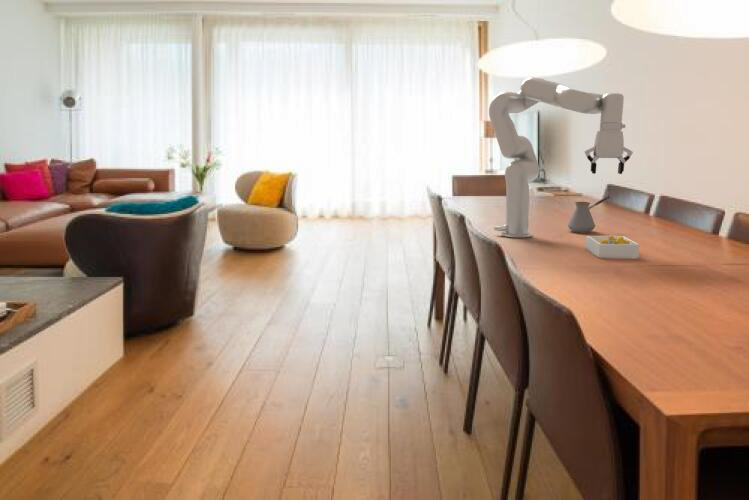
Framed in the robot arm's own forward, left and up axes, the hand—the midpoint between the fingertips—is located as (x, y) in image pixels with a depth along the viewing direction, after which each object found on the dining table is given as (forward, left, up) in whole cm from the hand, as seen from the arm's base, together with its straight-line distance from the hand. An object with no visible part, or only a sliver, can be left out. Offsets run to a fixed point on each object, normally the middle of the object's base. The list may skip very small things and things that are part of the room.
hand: (606, 173), depth 232 cm
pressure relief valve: (-2, -23, -24) cm, 33 cm away
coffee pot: (+4, +35, -28) cm, 45 cm away
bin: (-2, -17, -28) cm, 32 cm away
